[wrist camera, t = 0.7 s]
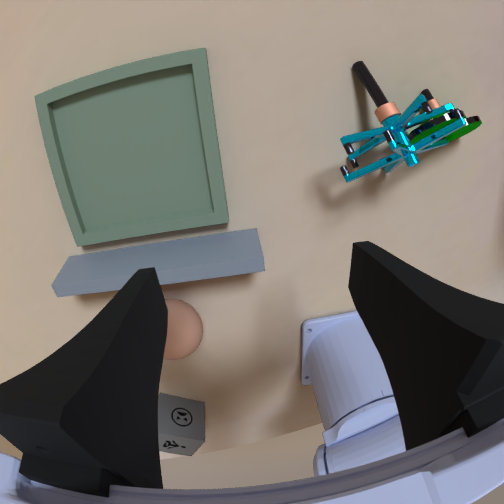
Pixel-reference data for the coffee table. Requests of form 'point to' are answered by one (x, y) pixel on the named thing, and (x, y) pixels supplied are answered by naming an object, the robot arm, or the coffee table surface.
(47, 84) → the coffee table surface
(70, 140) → the green tray
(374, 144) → the stick construction toy
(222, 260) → the low wall
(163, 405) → the dice cube
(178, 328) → the rubber ball
